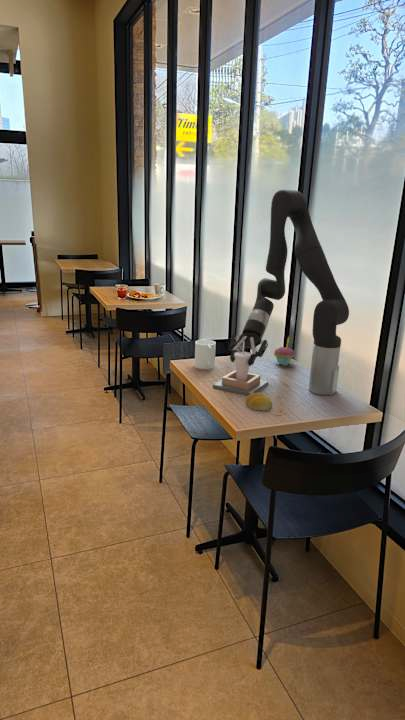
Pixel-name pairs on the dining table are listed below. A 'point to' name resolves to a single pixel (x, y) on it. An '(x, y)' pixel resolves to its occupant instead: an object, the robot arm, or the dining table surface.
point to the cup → (205, 354)
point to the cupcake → (284, 354)
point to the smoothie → (242, 364)
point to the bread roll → (258, 401)
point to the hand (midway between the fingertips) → (240, 362)
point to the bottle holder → (241, 384)
